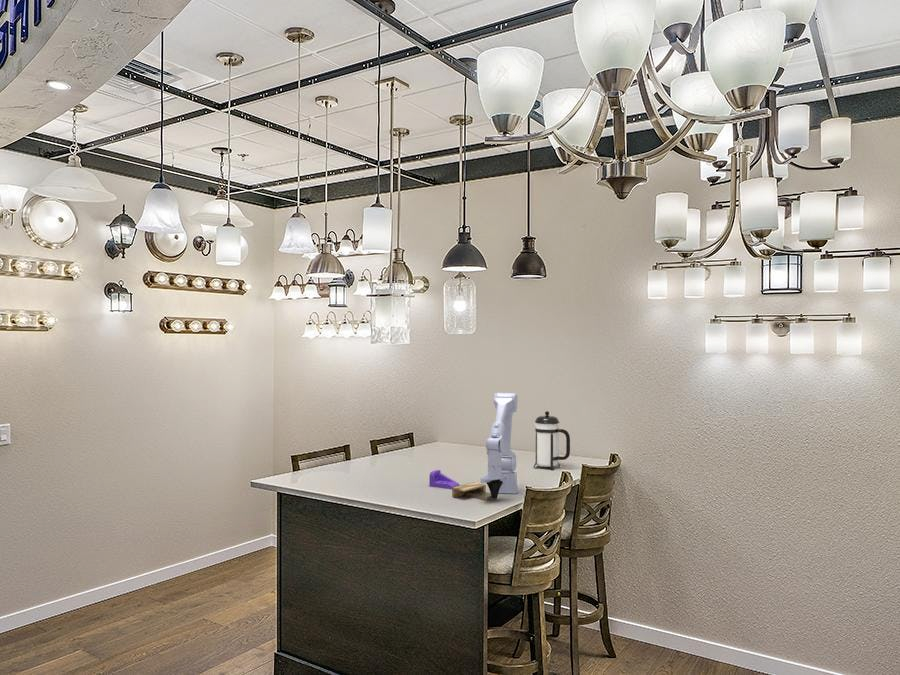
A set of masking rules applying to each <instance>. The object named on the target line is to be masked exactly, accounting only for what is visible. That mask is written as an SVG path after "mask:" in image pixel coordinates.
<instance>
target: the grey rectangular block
mask: <svg viewBox="0 0 900 675" xmlns="http://www.w3.org/2000/svg"><path fill="white" fill-rule="evenodd" d="M466 497H469V498H471V499H472V498H473V499H477V500H480V501H485V502H489V501H494V500H497V498H498V497H497V498H496V499H494V498H492V497H491V493H490V492H488V491H486V492H482V491H478V490H474V491H470V492H467V494H466Z"/></svg>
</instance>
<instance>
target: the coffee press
mask: <svg viewBox="0 0 900 675" xmlns="http://www.w3.org/2000/svg"><path fill="white" fill-rule="evenodd" d="M544 414H545V415H540V416H537V417H536V419H535V421H534V423H533V426H535V428H534V431H535V463H534V465H533V468H534V469H538V468H539V467H543V468H544V467H545V468H549V469H550V471H554V470H555V467H557V468H560V467H561V464H560V463H559V461H566V459H567V460H568V458H569V457H570V454H571V438H570V433H569V432H568V431H567V430H566V429H562V428H561V429H560V428H559V424H560V421H559V419H558V417H556V416H554V415H550V412H549V411H545V412H544ZM559 433H562V434H564V435H565V438H566V439H565V442H566V443H565V444H566V446H565V452H566V453H565V455H563V456H559V436H560V434H559Z"/></svg>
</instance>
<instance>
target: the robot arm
mask: <svg viewBox="0 0 900 675" xmlns="http://www.w3.org/2000/svg"><path fill="white" fill-rule="evenodd" d="M493 405H494V407H495V408H494V409H496V411H495V421H494V422H493V423H492V424H491V428H490V432H489V436H488V438H486V443H485V448H486V456H487V474H486V476H484V477H480V484H486V486H487V487H488V489H489V491H490V492H489V493H491V497H492V498H494V500H497V499H496V498H498V496H499V494H518V472H516V468H517V455H516V454H515V452H513V450H511V441H512V429H513V428H512V427H513V426H512V425H513V416H514V413H516V412H517V409H518V395H517V393H516V392H495V393H494V396H493Z"/></svg>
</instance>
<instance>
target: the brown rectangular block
mask: <svg viewBox="0 0 900 675" xmlns="http://www.w3.org/2000/svg"><path fill="white" fill-rule="evenodd" d="M474 490H478V491H482V492H487V491H486V490H487V484H486V483H481V482H475V481H474V482H470V483H464V484H459V486H455V487H452V489H451V493H452V495H451V497H452V498H458V497H462V496H465V495H466V496H467V492H470V491H474Z"/></svg>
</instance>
